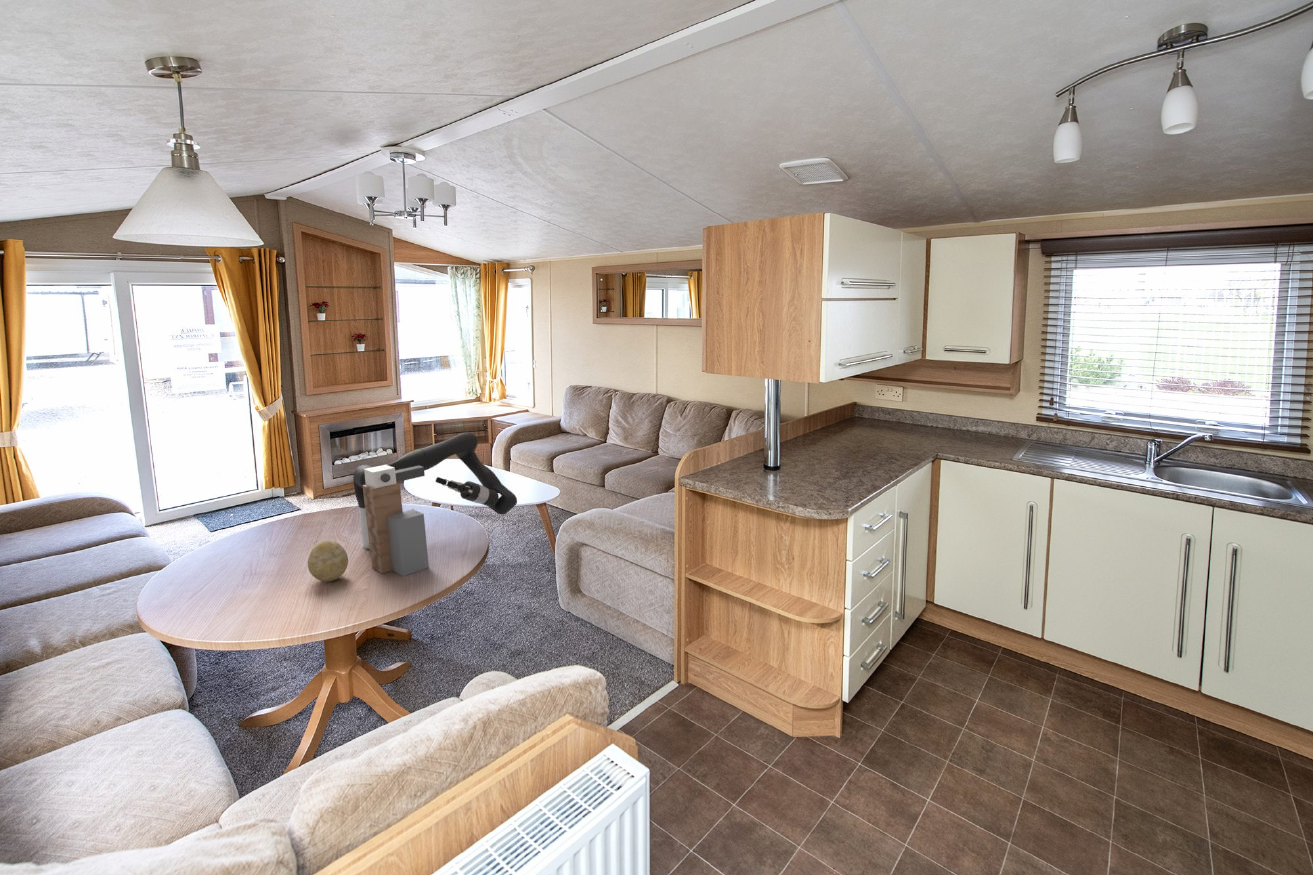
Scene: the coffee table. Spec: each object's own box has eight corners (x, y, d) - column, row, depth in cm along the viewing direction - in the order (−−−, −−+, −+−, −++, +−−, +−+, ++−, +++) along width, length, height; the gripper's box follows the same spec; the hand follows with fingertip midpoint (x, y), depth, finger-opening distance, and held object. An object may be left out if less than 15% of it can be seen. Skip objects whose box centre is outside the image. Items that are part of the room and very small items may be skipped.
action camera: (365, 484, 228) (363, 468, 227) (417, 473, 243) (415, 458, 241) (376, 489, 222) (374, 473, 221) (428, 477, 237) (427, 461, 236)
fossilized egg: (357, 576, 227) (352, 537, 223) (324, 590, 216) (318, 549, 213) (336, 569, 233) (331, 531, 230) (302, 582, 222) (297, 543, 219)
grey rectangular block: (392, 570, 232) (386, 516, 227) (418, 561, 239) (412, 509, 235) (403, 576, 227) (397, 521, 222) (428, 567, 234) (423, 513, 229)
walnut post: (372, 567, 234) (362, 485, 227) (398, 559, 241) (389, 479, 235) (382, 573, 229) (372, 489, 222) (408, 565, 236) (399, 483, 229)
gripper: (468, 481, 264) (436, 469, 252) (488, 487, 255) (455, 475, 243) (462, 497, 262) (429, 486, 250) (481, 505, 253) (448, 493, 241)
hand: (442, 481), depth 247 cm, fingers open, 8 cm apart
